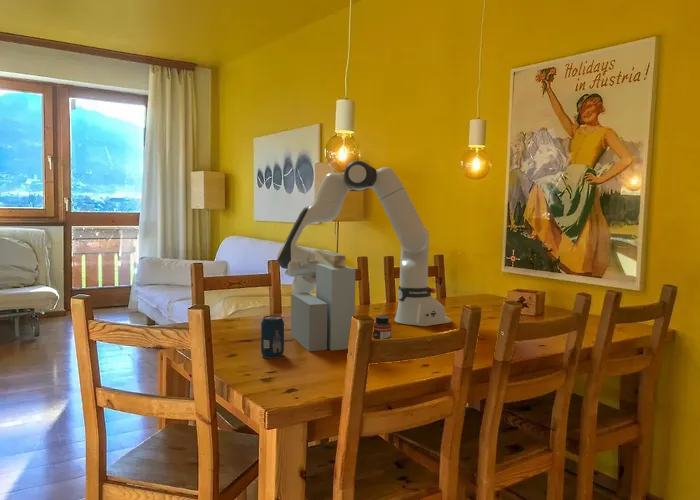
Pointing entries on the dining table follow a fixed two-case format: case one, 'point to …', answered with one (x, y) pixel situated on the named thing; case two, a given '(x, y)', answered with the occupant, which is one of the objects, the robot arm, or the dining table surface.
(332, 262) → the bar
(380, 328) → the supplement bottle
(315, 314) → the step
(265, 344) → the soda can
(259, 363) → the dining table surface
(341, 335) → the grey tall block
